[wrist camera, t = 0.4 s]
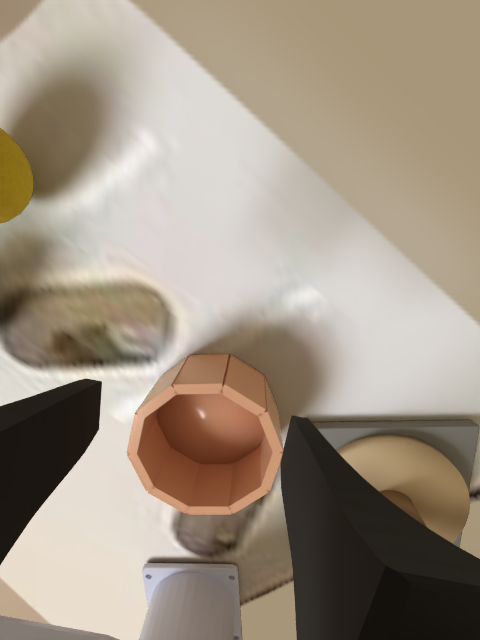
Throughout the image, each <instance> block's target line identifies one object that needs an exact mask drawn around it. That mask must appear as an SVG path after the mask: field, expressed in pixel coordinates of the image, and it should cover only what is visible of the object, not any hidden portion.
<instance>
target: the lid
mask: <svg viewBox="0 0 480 640" xmlns="http://www.w3.org/2000/svg"><path fill="white" fill-rule="evenodd" d="M336 451H337V452H338V453H339V454H340V455H341V456H342V457H343V458H344V459H345V460H346V461H347V462H348V463H349V464H350V465H351V466H352V467H353V468H354V469H355V470H356V471H357V472H358V473H359V474H360V475H361V476H362V477H363V478H364V479H365V480H366V481H367V482H369V483H370V484H371V485H372V486H373V487H374V488H376V489H377V490H378V491H379V492H380V493H381V494H383V495H384V496H385V497H386V498H388V499H389V500H390V501H391V502H393V503H394V504H395V505H397V506H398V507H399V508H401V509H402V510H403V511H405V512H406V513H407V514H409V515H410V516H411V517H413V518H414V519H416V520H417V521H419V522H420V523H422V524H423V525H424V526H426V527H427V528H429V529H430V530H432V531H434V532H435V533H437V534H438V535H440V536H441V537H443V538H445V539H446V540H448V541H449V542H451V543H452V544H453V543H454V541H455V540H456V539H457V538H458V536H459V535H460V533H461V532H462V530H463V528H464V526H465V524H466V521H467V518H468V514H469V508H470V498H469V492H468V488H467V485H466V483H465V481H464V479H463V477H462V476H461V474H460V473H459V471H458V470H457V469H456V468H455V466H454V465H453V464H452V463H451V462H450V461H449V460H448V459H447V457H446V456H445V455H444V454H443V453H441V452H440V451H439V450H438V449H436V448H435V447H433V446H432V445H430V444H428V443H426V442H424V441H421V440H419V439H416V438H412V437H409V436H403V435H392V434H384V435H374V436H368V437H364V438H361V439H357V440H354V441H352V442H350V443H347V444H345V445H344V446H342V447H340V448H338V449H337V450H336Z"/></svg>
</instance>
